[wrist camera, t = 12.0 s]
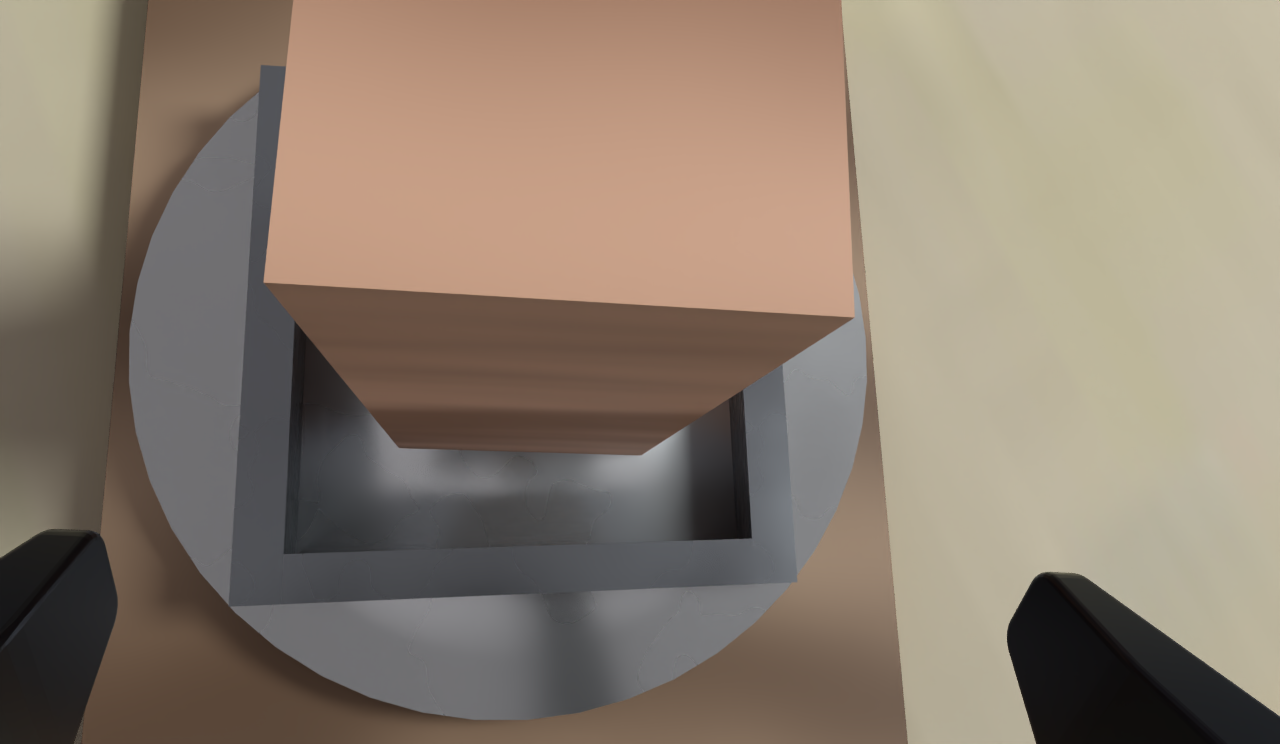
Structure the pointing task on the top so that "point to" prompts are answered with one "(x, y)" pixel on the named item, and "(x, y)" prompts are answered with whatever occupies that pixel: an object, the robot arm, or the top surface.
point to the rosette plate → (455, 490)
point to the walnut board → (383, 732)
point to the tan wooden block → (560, 210)
